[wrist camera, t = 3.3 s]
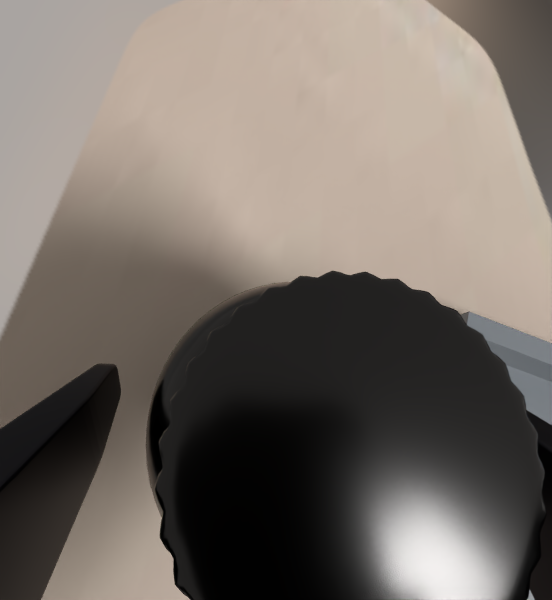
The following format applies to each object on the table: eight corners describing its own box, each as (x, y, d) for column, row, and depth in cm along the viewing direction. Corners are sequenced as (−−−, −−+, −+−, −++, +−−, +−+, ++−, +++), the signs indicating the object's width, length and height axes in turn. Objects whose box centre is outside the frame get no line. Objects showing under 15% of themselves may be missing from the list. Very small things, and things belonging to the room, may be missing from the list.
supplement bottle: (169, 371, 15) (-32, 304, 4) (298, 312, 17) (437, 136, 5) (229, 521, 14) (204, 1139, 2) (364, 442, 15) (744, 586, 4)
